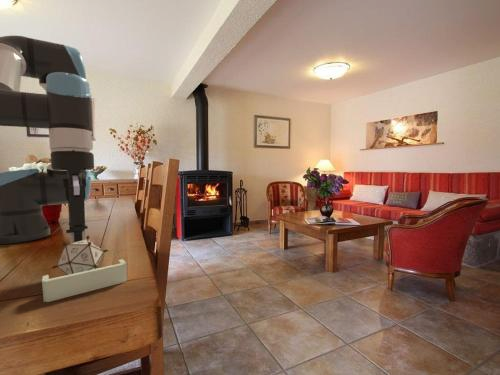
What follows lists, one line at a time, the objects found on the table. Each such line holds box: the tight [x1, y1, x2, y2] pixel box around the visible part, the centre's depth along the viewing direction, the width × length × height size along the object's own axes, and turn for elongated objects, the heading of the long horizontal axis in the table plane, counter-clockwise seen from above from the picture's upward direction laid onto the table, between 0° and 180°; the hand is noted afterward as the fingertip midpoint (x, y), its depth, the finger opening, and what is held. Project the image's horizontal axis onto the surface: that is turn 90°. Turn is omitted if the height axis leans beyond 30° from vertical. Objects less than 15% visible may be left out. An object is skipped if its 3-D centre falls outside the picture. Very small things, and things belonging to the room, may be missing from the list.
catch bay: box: [41, 258, 128, 303], centre depth 48 cm, size 4×13×4 cm, turn 127°
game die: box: [51, 235, 109, 275], centre depth 52 cm, size 9×8×10 cm
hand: (79, 260), depth 56 cm, fingers closed
